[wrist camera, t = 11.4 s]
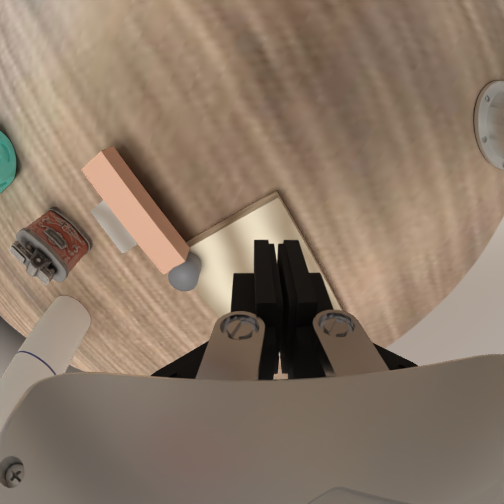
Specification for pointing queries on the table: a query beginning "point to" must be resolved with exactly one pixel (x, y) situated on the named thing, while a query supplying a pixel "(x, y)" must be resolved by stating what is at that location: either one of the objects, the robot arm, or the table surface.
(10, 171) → the decorative dice
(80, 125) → the table surface
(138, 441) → the robot arm
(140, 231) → the stool leg
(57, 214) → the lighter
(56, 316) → the cylindrical container
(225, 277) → the stool seat
